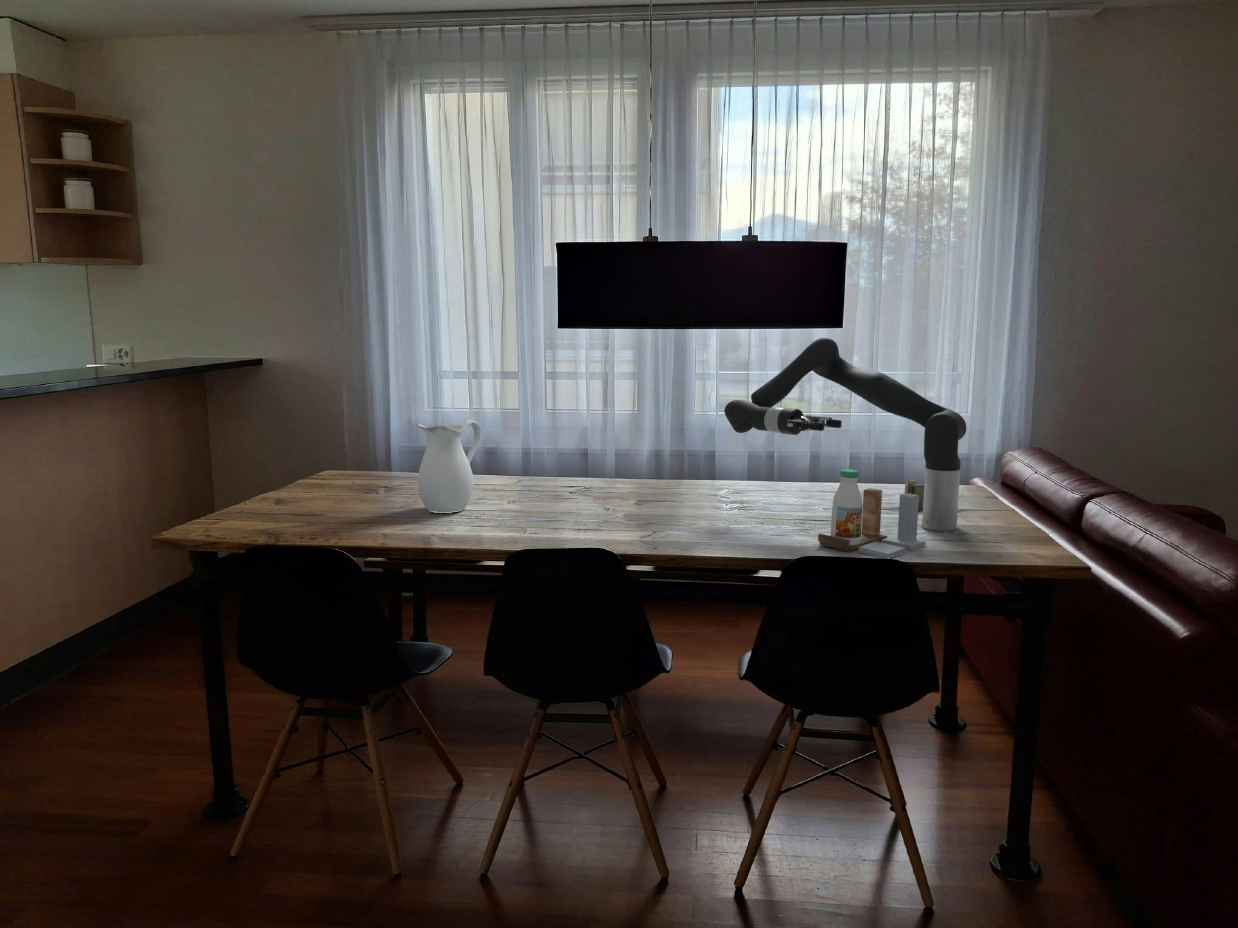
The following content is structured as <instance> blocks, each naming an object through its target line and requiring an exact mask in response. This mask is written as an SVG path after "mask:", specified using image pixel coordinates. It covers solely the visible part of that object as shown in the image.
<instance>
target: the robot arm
mask: <svg viewBox="0 0 1238 928" xmlns="http://www.w3.org/2000/svg"><path fill="white" fill-rule="evenodd" d="M810 372H813V373H815V374H816V375H818V376H819V377H821V378H824V379H826V380H828V381H831V382H833V383H836V384H838V385H839V386H842V387H844V388H845V389H846V390H849V391H850V392H851V393H853V394H855V395H857V396H858V397H860V398H862V399H863V400H865V401H866V402H867V403H869V404H872V405H873V406H875V407H877V408H879V409H880V410H882V411H884V412H886V413H889V414H892V415H896V416H898V417H901V418H905V419H907V420H910V421H913V422H915V423H916V424H918V425H920V426H921V427H923V428H924V435H923V437H924V438H923V458H924V460H925V467H924V482H923V483H924V500H923V508H922V515H921V516H922V518H921V526H922V528H924V529H927V530H931V531H940V532H951V531H955V530H956V529H957V526H958V515H959V514H958V513H959V512H958V511H959V497H960V495H959V491H960V490H959V489H960V477H961V476H960V475H961V465H962V464H961V463H962V462H961V459H960V458H959V453H958V452H959V441H961V439H963V438H964V437H965V435H966V432H967V430H968V429H967V422H966V421H965V419H964V418H963V416H962V415H961V414H960V413H958V412H956V411H954V410H951V409H949V408H946V407H944V406H943V405H939V404H937V403H935V402H933V401H930V400H929V399H927V398H926V397H923V396H922V395H920V394H919V393H917V392H915V390H913V389H911V388H909V387H908V386H906V385H904V383H903V384H902V383H901V382H899V381H897V380H895V379H894V378H892V377H890V376H889V375H887V374H884V373H883V372H881V371H877V370H871V369H865V368H859V367H857V366H855V365H853V364H851V363H850V362H848V361H846V360H845V359H843V357H841V356H840V350H839V346H838V344H837V342H836V341H835V340H834V339H832V338H830V337H820V338H819V337H818V338H817V339H815V340H814V341H812V342H811V343H810V344H809V345H807V347H806V348H805V349H804V350H803V351H802V352H801V353H800V354H799V355H797V357H795V358H794V359H793V360H792V361H791V362H790V363H789V364H788V365H786V367H785V368H784V369H782V370H781V371H780V372H779V373H778V374H776V375H775V376H774V377H773V378H772V379H770V380H768V381H767V382H766V383H764V384H763V385H761V386H760V387H758V389H756V390H755V391H754V392H752V393H751V395H750V399H751V401H747V400H745V399H734V400H732V401H729V402H728V403H727V404H726V405H725V407H724V410H723V411H724V416H725V417H726V419H727V421H728V422H729V424H730V426H731V428H733V430H734V431H735V433H738V434H744V433H748V432H749V431H750V430H752V429H753V428H754V430H757V431H762V432H763V431H764V432H772V433H775V434H784V435H793V436H797V435H799V434H800V433H801V432H806V431H807V432H808V431H817V432H819V431H820V432H823V431H824V430H825V428H827V429H828V428H834V429H841V428H842V419H834V418H833V417H830V416H829V417H826V416H817V415H814V416H813V415H809V414H808V415H804V412H803V411H802V410H801V409H799V408H790V407H780V406H779V407H774V406H776V405H777V404H779V403H780V402H781V401H783V400H784V399H785V398H786V397H787V396H788V395H789V394H790V393H791V392H793V391H792V390H793V389H794V388H795V387H796V386H797V385H798V384H799V382H800V381H802V379H803V378H804V377H805V376H807V375H808V374H810Z"/></svg>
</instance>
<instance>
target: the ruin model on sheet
mask: <svg viewBox="0 0 1238 928" xmlns="http://www.w3.org/2000/svg"><path fill="white" fill-rule="evenodd" d="M905 493H910V494H916V495H919V505H918V509H923V500H924V484H921V483H919V484H918V483H917V484H916V479H914V480H913V479H912V480H910V479H909V480H907V481H906V483H905V484H904V494H905Z"/></svg>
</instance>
